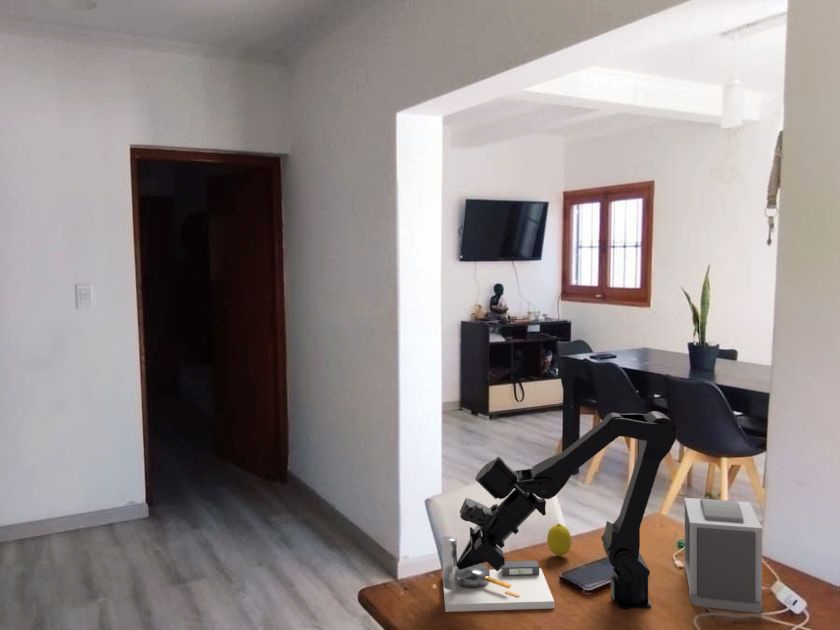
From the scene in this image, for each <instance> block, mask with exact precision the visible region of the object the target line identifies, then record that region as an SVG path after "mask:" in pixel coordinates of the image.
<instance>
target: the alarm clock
mask: <svg viewBox="0 0 840 630" xmlns="http://www.w3.org/2000/svg"><path fill="white" fill-rule="evenodd" d="M684 572H685V576H686V578H687V583H688V595H689V601H690V602H689V603H690V604H691V605H693V606H694V607H700V608H709V609H711V608H712V609H719V610H720V609H721V610H728V611H729V610H730V611H736V612H737V611H738V612H745V613H746V612H747V613H755V614H758V613H761V612H763V600H762V599H763V596H762V595H763V583H762V582H763V578H762V577H763V527H762V525H761V523H760V521H759V519H758V517H757V514H756V512H755V510H754V509H753V506H752V504H751V502H750V501H737V500H724V499H723V500H722V499H708V498H696V497H695V498H693V497H691V498H690V497H684Z"/></svg>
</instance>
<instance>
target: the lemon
mask: <svg viewBox="0 0 840 630" xmlns="http://www.w3.org/2000/svg"><path fill="white" fill-rule="evenodd" d="M571 536H572V535H571V532H570V531H569V529H568V528H567V527H566V526H565V525H563V524H561V523H557V524H554V525H553V526H551V527H550V529H549V530H548V533H547V538H546V539H547V541H546V542H547V547H548V549H549V550H550V551H551V553H553V554H555V555H556V556H557V557H558V558H561V557H562V556H563V555H566V554H567V553H568V552H569V551H570V549H571V546H572V537H571Z"/></svg>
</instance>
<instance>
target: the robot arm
mask: <svg viewBox="0 0 840 630" xmlns="http://www.w3.org/2000/svg"><path fill="white" fill-rule="evenodd" d="M678 434H679V429H678V427H677V425H676V423H675V422H674V421H673V420H671V418H669V417H668V416H667V415H665V414H664V413H663V412H660V411H654V410H653V411H649V412H647V413H645V414H644V413H643V414H642V413H618V412H611V413H608V414H607V415H605V417H604V418H603V419H602V420H601V421H600V422H599V423H597V424H596V425H595V426H593V427H592V428H591V429H590V430H588V431H587V432H586V433H585V434H583V435H582V436H581V437H580V438H579V439H577V440H576V441H574V442H573V443H572V444H570V446H568V447H567V448H566V449H564V450H563V451H562V452H560V453H559V454H557V455H554V456H551V457H548V458H546V459H544V460H543V461H540V462H538V463H537V464H535V465H533V466H532V468H525V469H519V470H515V471H514V470H513V469H511V467H509V466H508V465H507V464H506V463H505V461H504V460H503V459H502V458H501V457H500V456H497V457H496V458H495V459H492V460H491V461H489V462H488V463H486V464H484V466H482V468H481V469H480V470H479V471H478V473H477V474H476V476H475V478H474V480H475V481H476V482H477V483H478V484H479V485H480V486H481V487H482V488H484V490H485V491H486V492H488V494H489V495H491V496H492V497H493V498H494V500H497V499H499V500H502V502H501V503H500V504H497V503H495V504H492V506H490V507H488V506H486V505H485V504H482V503H480V502H478V501H475V500H473V499H471V498H469V497H465V499H464V501H463V503H462V505H461V508H460V510H459V514H460V518H461V520H462V521H464V522H470V523H472V524H473V525H474V524H475V525H476V526H475V527H472V526H470V527H469V541H468V543H467V544H466V546H465V548H464V550H463V551H462V553H461V555H460V557H459V558H458V559H457V567H458V568H459V569H460V570H462V569H465V568H468V567H471V566H474V565H477V564H484V563H487V564H488V565H489V566H490V567H492V568H493V570H496V571H499V570H500V569H501V568H502V567H503V566H504V565H505V560H506V559H505V554H504V551H503V550H502V549H503V548H504V547H505V544H506V543H505V541H506V540H508V538H509V537H510V536H511V535H512V534H514V535H517V534H518V533H519V531H520V530H519V527H520V526H521V525H522V524H523V523H524V522H525V521H526V520H527V519H528V518H529V517H530V516H531V514H533V513H534V512H535V511H537V512H539V513H540V514H541V515H542V516H546V515H547V512H546V505H547V501H546V500H551V499H553V498H555V496H557V495H558V494H559V492H560V491H561V490H562V489H563V487H565V485H566V484H567V483H568V481H569V480H570V478H571V477H572V475H573V474H574V473H575V472H576V471H577V470H578V469H579V468H580V467H582V466H584V465H585V464H586V463H587V462H588V461H590V460H591V459H592V458H593V457H594V456H596V455H597V454H598V453H600V452H601V451H602V450H603V449H605V448H606V447H607V446H608V445H610V444H611V443H612V442H614V441H615V440H616V439H618V438H619V437H624V438H625V437H626V438H629V439H633V440H634V439H635V440H638V455H637V458H636V461H635V465H634V467H633V470H632V473H631V477H630V479H629V483H628V485H627V490H626V493H625V496H624V499H623V503H622V506H621V509H620V512H619V515H618V517H617V518H616V520H615V521H614V522H613V523H612V522H610V521H608V520H607V521H606V523H605V529H604V532H603V535H602V536H600V539H601V541H602V546H603V550H604V552H605V555H606V557H607V559H608V561H609V563H610V565H611V566H612V567H613V568H612V576H610V596H611V598H612V599H613V601H614V602H615V604H616V606H617V607H618V608H620V609H647V608H652V604H651V602H650V601H649V577H650V574H651V571H650V569H649V567H648V566H647V564H646V562H645V560H644V558H643V556H642V554H641V553H640V548H641V547H640V546H641V539H640V538H641V536H640V535H641V533H640V532H641V531H640V529H641V526H642V522H643V518H644V515H645V512H646V509H647V505H648V502H649V500H650V496H651V493H652V489H653V487H654V484H655V482H656V478H657V474H658V472H659V468H660V465H661V462H662V461H663V460H664V459H665V458H666V456H667V455H668V454H669V453H671V450H672V448H673V446H674V445H675V442H676V440H677V439H678Z"/></svg>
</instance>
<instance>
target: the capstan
mask: <svg viewBox="0 0 840 630" xmlns="http://www.w3.org/2000/svg"><path fill="white" fill-rule="evenodd" d="M457 547H458V545H457V537H454V536H452V535H451V536H449V535H448V536H444V537H442V538H441V548H442V549H441V551H442V553H441V554H442V556H441V557H442V584H443V585H442V586H443V589H444V588H446V589H455V588H457V587H458V586H461V587H465V588H478V587H482V586H485V585H486V584H488V583H489V582H491V583H494V584H497V585H500V586H502V587H505V588H508V589H509V588H510V587H511V584H508V583H505V582H502V581H499V580H497V579H494V578H491V577H490V572H489V570H490V568H489V567H488V566H487V565H485V564H484V563H480V564H477V565H474V566H471V567H468V568H465V569H462V570H460V569H459V568H458V567H457V562H458V554H457V553H458V549H457Z"/></svg>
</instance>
